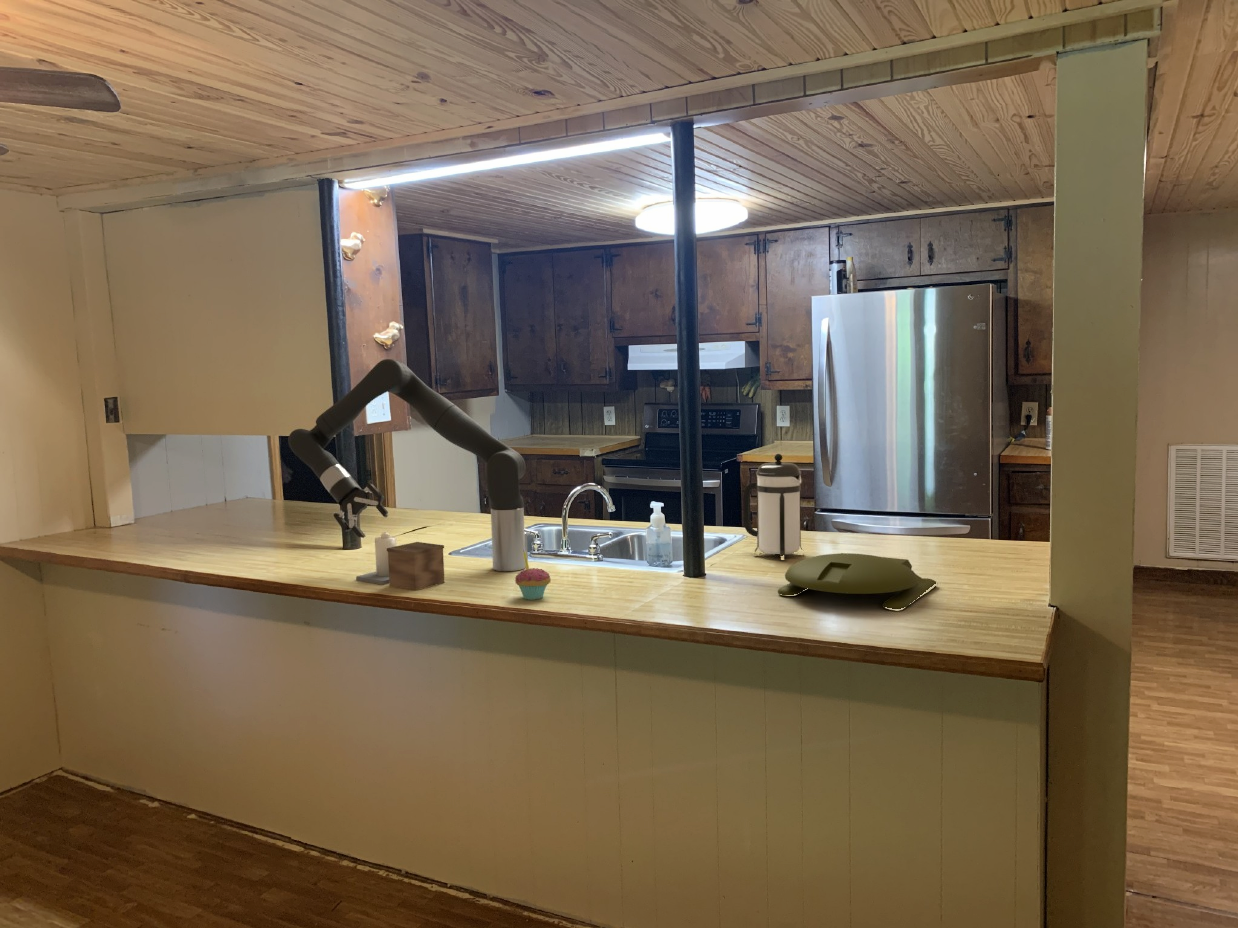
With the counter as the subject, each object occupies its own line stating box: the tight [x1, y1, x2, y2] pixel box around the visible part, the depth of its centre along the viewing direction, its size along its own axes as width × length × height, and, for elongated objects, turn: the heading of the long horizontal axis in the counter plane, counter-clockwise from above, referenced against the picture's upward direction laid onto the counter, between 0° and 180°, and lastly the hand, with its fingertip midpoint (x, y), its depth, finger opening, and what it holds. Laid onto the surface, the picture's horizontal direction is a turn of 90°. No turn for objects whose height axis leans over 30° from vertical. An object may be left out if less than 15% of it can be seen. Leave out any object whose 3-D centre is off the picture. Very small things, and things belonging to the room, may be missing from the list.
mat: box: [355, 571, 389, 585], centre depth 244 cm, size 12×11×1 cm
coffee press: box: [742, 453, 803, 557], centre depth 260 cm, size 17×16×30 cm
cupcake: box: [514, 549, 552, 601], centre depth 218 cm, size 9×8×12 cm
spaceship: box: [777, 552, 937, 609], centre depth 214 cm, size 35×31×10 cm
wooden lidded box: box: [387, 541, 445, 591], centre depth 235 cm, size 10×10×10 cm
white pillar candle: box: [374, 531, 397, 577], centre depth 243 cm, size 6×6×12 cm
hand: (375, 526), depth 250 cm, fingers open, 8 cm apart
